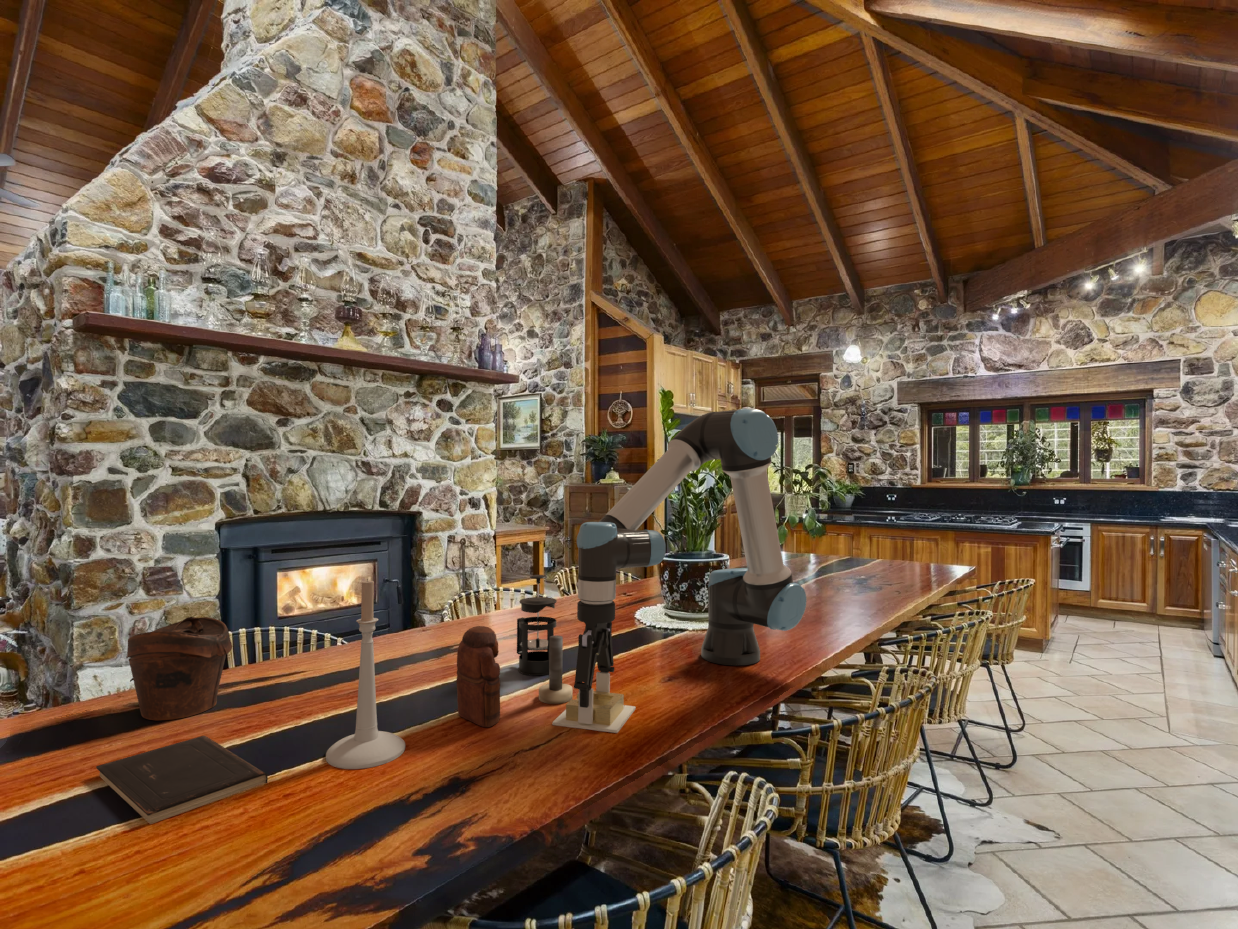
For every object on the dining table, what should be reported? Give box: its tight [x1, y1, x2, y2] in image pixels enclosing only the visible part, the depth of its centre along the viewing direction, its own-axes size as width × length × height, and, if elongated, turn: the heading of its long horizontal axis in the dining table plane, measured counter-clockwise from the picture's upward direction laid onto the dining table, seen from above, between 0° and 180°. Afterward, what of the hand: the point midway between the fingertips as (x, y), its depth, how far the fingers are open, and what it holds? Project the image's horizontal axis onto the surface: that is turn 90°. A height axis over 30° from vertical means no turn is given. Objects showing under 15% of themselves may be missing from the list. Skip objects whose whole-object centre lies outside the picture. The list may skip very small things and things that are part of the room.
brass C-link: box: [565, 690, 625, 725], centre depth 132 cm, size 9×9×3 cm
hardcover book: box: [95, 735, 269, 825], centre depth 105 cm, size 16×23×2 cm
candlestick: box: [325, 578, 406, 770], centre depth 115 cm, size 13×13×30 cm
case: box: [126, 616, 233, 722], centre depth 135 cm, size 18×20×18 cm
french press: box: [516, 574, 557, 677], centre depth 163 cm, size 12×9×23 cm
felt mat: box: [552, 704, 636, 734], centre depth 132 cm, size 13×13×1 cm
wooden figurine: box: [456, 625, 501, 728], centre depth 131 cm, size 12×6×18 cm, turn 46°
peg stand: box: [538, 635, 574, 705], centre depth 143 cm, size 7×7×13 cm
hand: (594, 713), depth 132 cm, fingers open, 10 cm apart
